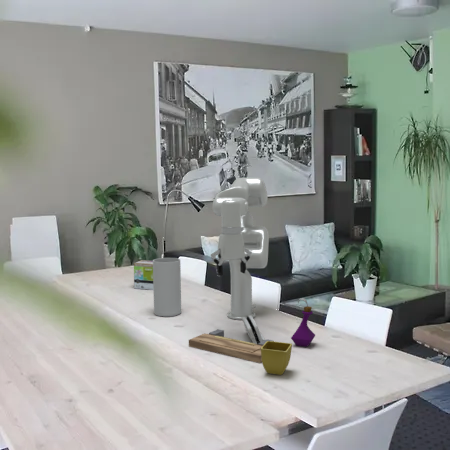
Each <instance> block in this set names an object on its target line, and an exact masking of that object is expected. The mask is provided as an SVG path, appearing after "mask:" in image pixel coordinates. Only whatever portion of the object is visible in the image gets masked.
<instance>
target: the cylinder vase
mask: <svg viewBox="0 0 450 450" xmlns="http://www.w3.org/2000/svg"><path fill="white" fill-rule="evenodd" d="M152 261H153V287H154V290H153V313H154V315H156V316H158V317H162V316H163V317H165V318H166V317H167V318H168V317H169V318H170V317H176V316H179V315H180V314H181V313H182V283H181V282H182V276H181V274H182V273H181V271H182V270H181V259H180V258H177V257H159V258H155V259H152Z"/></svg>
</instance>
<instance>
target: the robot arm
mask: <svg viewBox="0 0 450 450" xmlns="http://www.w3.org/2000/svg"><path fill="white" fill-rule="evenodd" d="M268 198H269V197H268V192H267V187H266V184H265V182H264V180H263V178H261V177H238V178H236V179H235V180H234V181H233V182H232V185H231V187H230V188H226V189H224V190H222V191H219V192H218V193H216V195H215V196H214V199H213V201H212V212H213V214H214V215H215V216H218V217H221V234H219V237H218V242H217V250H215V251H214V252H213V253H211V254H210V257H211V259H212V261H213V262H214V263H215V265H216V267H217V268H216V272H217V274H218V275H219V276H220V277H221V276H224V273H223V272H224V271H223V270H224V267H223V263H224V261H228V263H229V271H230V272H229V273H230V311H228V312H227V318H229V319H232V320H238V321H239V320H242V319H243V318H244V317H246V318H247V317H248V316H249V315H251V316H252V317H253V319H254V318H255V317H256V312H255V311H253V310H254V309H257V307H258V306H257V304H256V303H254V304H253V279H252V275H251V273H250V272H249V270H248V269H265V268H266V267H267V266H268V261H269V259H268V258H269V240H270V239H269V237H270V236H269V235H270V234H269V230H268V229H267V227H265V226H264V225H263V226H262V225H254V217H253V215H252V214H251V212H250V211H249V208H256V207H257V208H262V207H265V206H266V205H267V203H268V200H269V199H268ZM216 257H217V258H218V259H217V258H216ZM242 321H243V320H242Z"/></svg>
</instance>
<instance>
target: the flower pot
mask: <svg viewBox="0 0 450 450" xmlns="http://www.w3.org/2000/svg"><path fill="white" fill-rule="evenodd" d="M273 341H274V340H273ZM273 341H267V342H266V343H265V344H264V345H263V346H262V347H261V356H262V362H261V363H262V366H263V369H264V371H265V372H266V374H271V375H277V376H282V375H283V374H284V373H285V371H286V369H287V367H288V366H289V364H290V361H291V356H292V355H291V354H292V347H293V343H290V342H283V341H282V342H281V341H274V342H273Z"/></svg>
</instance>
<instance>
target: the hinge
mask: <svg viewBox="0 0 450 450" xmlns="http://www.w3.org/2000/svg"><path fill="white" fill-rule="evenodd" d="M242 322H243V326H244V328H245V331H246V333H247V335H248V337H249V339H250V340H251V343H254V344H257V345H258V343H261V342H263V341H265V340H266V338H265V337H264V336H263V334H262V332H261V331H260V330H259V328H258V327H259V326H258V325H257V323H256V321H255V319H254V318H253V317H252V316H251V315H249V316H248V317H247V318H246V317H244V318H243V319H242Z"/></svg>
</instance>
